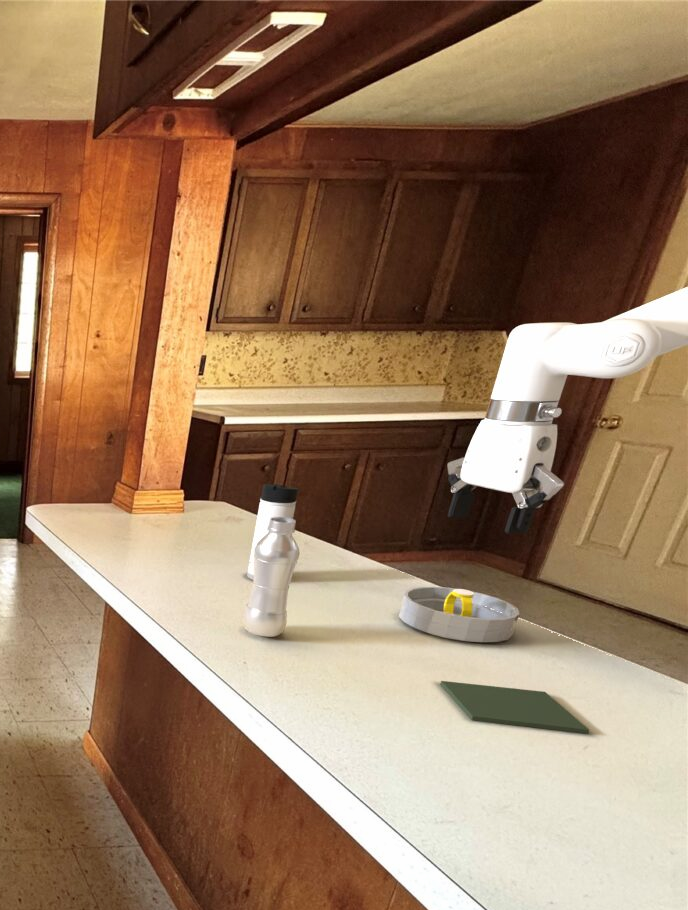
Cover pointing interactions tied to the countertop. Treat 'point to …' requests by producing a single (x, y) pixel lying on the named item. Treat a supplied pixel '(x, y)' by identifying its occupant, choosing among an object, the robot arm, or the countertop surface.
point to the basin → (458, 615)
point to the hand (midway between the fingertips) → (485, 524)
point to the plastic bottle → (272, 579)
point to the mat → (512, 707)
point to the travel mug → (272, 512)
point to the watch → (465, 598)
